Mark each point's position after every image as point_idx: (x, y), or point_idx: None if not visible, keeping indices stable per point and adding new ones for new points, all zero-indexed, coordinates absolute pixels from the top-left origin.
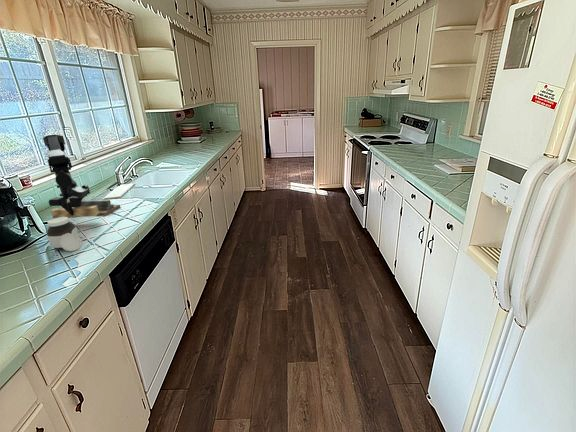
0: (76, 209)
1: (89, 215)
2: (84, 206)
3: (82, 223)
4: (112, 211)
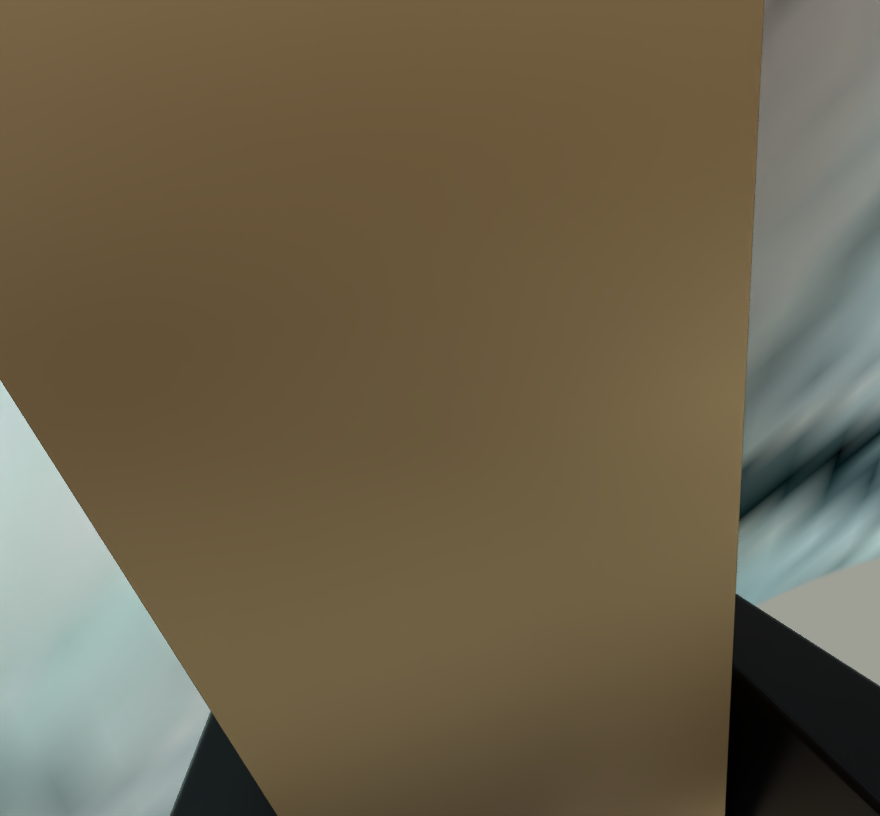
0: (714, 606)
1: None
2: (178, 600)
3: None
4: None
